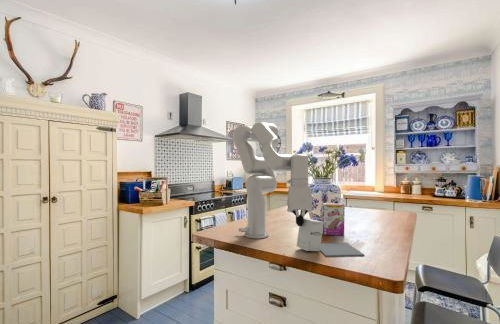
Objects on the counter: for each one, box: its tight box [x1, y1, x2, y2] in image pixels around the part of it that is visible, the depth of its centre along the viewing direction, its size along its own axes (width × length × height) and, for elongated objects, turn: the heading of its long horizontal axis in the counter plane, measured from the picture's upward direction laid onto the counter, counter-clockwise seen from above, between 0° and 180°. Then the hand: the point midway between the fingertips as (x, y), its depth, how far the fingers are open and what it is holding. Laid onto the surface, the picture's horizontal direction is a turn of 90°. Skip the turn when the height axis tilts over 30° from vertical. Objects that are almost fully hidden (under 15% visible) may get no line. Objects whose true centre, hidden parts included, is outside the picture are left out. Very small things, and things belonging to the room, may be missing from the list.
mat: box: [319, 242, 365, 258], centre depth 112 cm, size 16×16×1 cm
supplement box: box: [296, 217, 324, 252], centre depth 112 cm, size 7×7×13 cm
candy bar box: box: [321, 202, 346, 237], centre depth 138 cm, size 11×5×16 cm, turn 84°
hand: (299, 225), depth 111 cm, fingers closed
